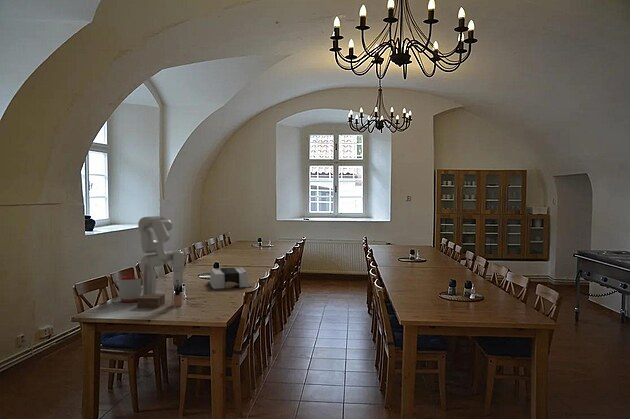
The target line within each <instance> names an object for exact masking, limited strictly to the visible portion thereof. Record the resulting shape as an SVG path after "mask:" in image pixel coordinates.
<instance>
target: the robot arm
mask: <svg viewBox="0 0 630 419" xmlns="http://www.w3.org/2000/svg"><path fill="white" fill-rule="evenodd" d="M137 227H138V228H137V229H138V231H139V233H140V242H141V250H142V252H143V253H145V254H146V255H144V256H142V258H141V259H140V263H141V270H142V271H141V272H142V295H144V294H157V271H155V269H154V268H157V267H163V266H164V265H165V263H168V262H172V272H173V282H172V283H173V286H172V287H174V293H175V295H180V293H184V292H183V291H184V289H183V284H184V274H183V272H185V254H184V251H181V250H175V249H174V250H165V246H164V244H165V243H167V242H168V241H169V240H170V239H171V236H170V234H169V231H171V230H172V229H173V223H172V221H171V220H170V219H168V218H166V217H164V216H160V215H156V216H143V217H141V218H140V219H138V224H137ZM151 229H152V230H153V232H154V234H155V236H156V239H154V235H153V232H152V231H151ZM153 253H154V254H153Z"/></svg>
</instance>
